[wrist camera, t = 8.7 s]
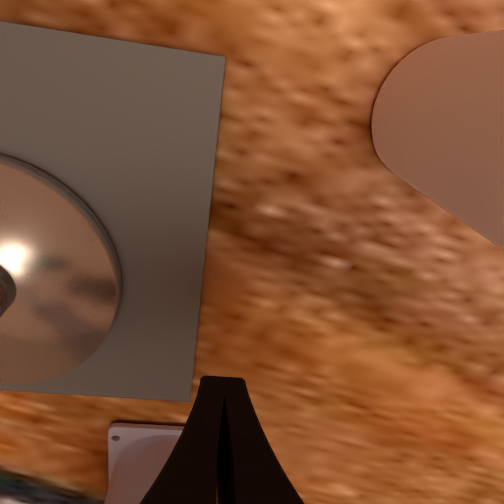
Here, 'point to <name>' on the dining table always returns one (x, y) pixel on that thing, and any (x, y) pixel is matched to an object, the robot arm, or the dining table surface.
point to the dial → (50, 276)
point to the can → (449, 127)
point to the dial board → (123, 186)
